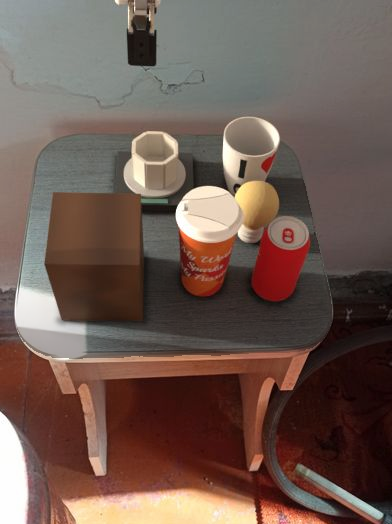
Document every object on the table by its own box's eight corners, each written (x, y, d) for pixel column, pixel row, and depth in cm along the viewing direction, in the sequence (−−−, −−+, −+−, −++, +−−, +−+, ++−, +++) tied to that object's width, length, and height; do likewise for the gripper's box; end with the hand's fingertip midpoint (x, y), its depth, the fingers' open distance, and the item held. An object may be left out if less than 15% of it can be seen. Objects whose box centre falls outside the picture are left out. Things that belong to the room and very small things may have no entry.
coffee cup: (172, 301, 79) (174, 232, 66) (175, 254, 83) (177, 180, 69) (231, 305, 79) (245, 237, 66) (231, 258, 83) (245, 184, 70)
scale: (115, 210, 86) (114, 201, 84) (118, 158, 91) (117, 148, 89) (193, 212, 87) (194, 203, 85) (192, 159, 92) (192, 150, 90)
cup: (225, 209, 87) (233, 160, 78) (211, 171, 91) (217, 120, 82) (275, 200, 89) (287, 151, 80) (258, 163, 92) (269, 113, 83)
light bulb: (269, 220, 87) (281, 172, 78) (271, 253, 84) (284, 207, 75) (228, 218, 86) (235, 170, 78) (228, 251, 84) (236, 205, 75)
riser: (61, 320, 77) (44, 264, 65) (68, 255, 82) (52, 191, 70) (142, 321, 77) (139, 264, 66) (144, 256, 82) (141, 193, 71)
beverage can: (293, 270, 83) (313, 215, 72) (293, 306, 80) (313, 254, 69) (251, 265, 83) (264, 210, 72) (249, 301, 80) (262, 248, 69)
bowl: (132, 188, 86) (131, 164, 81) (133, 156, 89) (132, 130, 84) (177, 189, 86) (178, 165, 82) (177, 157, 89) (177, 131, 85)
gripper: (103, -188, 55) (113, -7, 70) (93, -97, 47) (107, 85, 62) (179, -182, 55) (173, -4, 70) (183, -92, 47) (175, 87, 62)
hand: (142, 37), depth 66 cm, fingers open, 9 cm apart
